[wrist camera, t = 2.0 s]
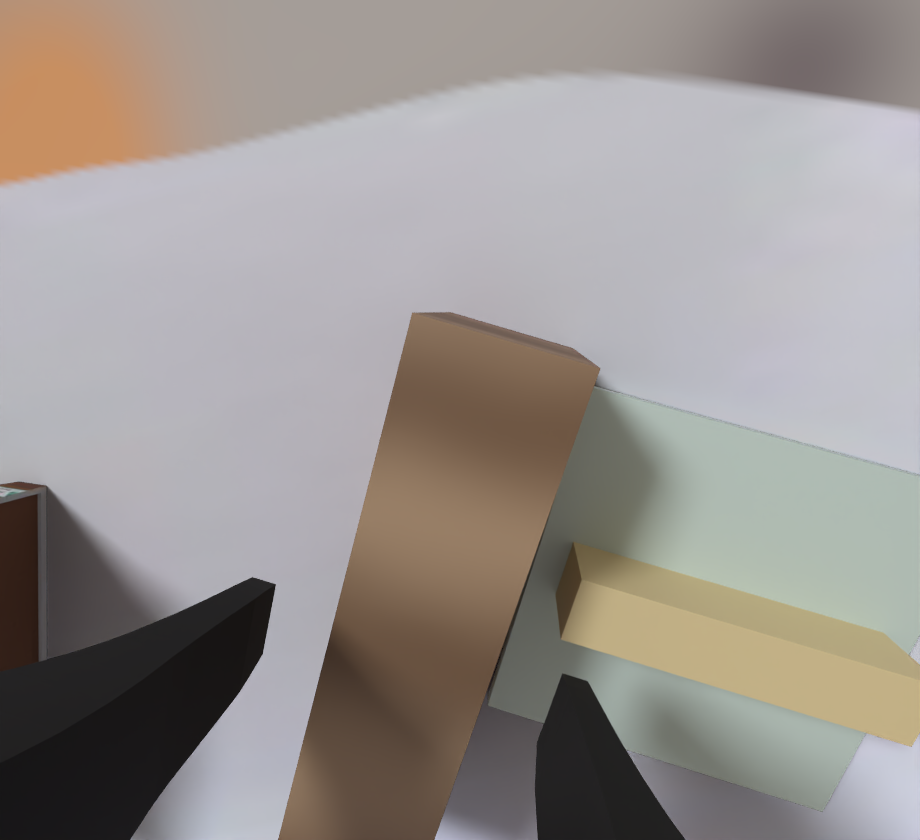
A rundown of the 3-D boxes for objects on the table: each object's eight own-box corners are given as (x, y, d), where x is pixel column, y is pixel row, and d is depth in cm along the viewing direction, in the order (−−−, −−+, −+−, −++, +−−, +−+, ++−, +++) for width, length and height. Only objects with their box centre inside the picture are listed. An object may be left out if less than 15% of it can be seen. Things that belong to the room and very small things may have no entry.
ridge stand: (812, 795, 18) (868, 888, 15) (488, 693, 19) (482, 763, 16) (976, 490, 15) (1084, 532, 12) (588, 384, 16) (603, 400, 13)
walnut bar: (439, 742, 20) (404, 923, 14) (343, 709, 20) (269, 873, 14) (572, 347, 16) (600, 368, 10) (451, 312, 16) (412, 312, 10)
